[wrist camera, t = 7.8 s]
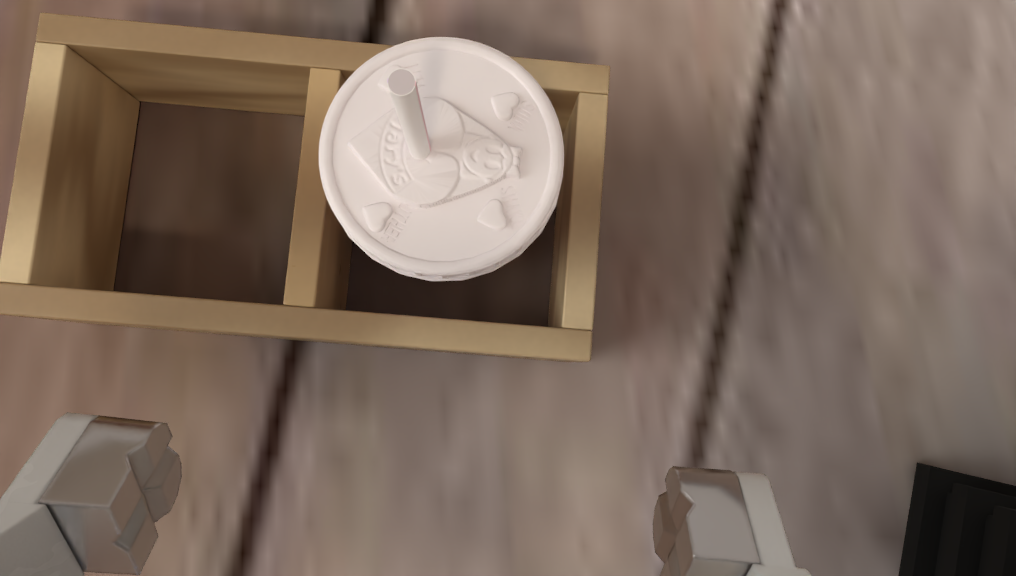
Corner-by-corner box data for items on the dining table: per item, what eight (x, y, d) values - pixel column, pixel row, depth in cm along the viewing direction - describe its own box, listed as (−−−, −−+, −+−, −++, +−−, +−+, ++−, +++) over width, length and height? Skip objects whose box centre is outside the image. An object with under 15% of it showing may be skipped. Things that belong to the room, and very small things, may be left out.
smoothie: (383, 138, 28) (286, -89, 14) (544, 156, 28) (608, -51, 14) (363, 299, 27) (239, 230, 13) (528, 316, 27) (580, 266, 13)
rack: (570, 362, 27) (591, 361, 22) (82, 322, 26) (-10, 313, 21) (587, 117, 28) (610, 64, 23) (118, 74, 27) (39, 11, 23)
